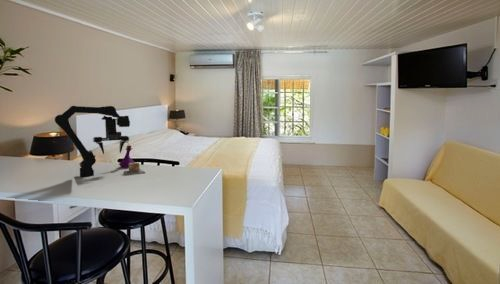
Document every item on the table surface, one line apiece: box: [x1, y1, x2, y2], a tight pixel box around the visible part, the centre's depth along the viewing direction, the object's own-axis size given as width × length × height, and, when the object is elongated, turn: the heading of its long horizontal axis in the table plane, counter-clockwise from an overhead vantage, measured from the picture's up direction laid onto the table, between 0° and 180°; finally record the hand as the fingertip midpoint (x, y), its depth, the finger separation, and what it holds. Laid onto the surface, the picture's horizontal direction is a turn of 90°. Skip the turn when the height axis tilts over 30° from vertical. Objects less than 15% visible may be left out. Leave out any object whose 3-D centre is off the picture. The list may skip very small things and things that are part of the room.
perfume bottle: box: [118, 141, 136, 169], centre depth 193 cm, size 8×8×18 cm
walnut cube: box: [128, 161, 140, 173], centre depth 178 cm, size 5×5×5 cm
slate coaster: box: [123, 169, 146, 176], centre depth 178 cm, size 10×10×1 cm
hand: (112, 153), depth 176 cm, fingers open, 9 cm apart
